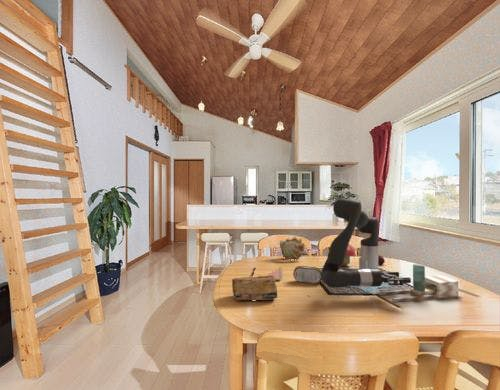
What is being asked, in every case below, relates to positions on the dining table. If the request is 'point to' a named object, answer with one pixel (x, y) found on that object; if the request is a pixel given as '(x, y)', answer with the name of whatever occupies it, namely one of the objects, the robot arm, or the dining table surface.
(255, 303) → the dining table surface
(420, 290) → the block with teal grip
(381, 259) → the potato
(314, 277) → the tin
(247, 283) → the petrified wood
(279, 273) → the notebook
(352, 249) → the decorative mushroom
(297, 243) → the olive rough rounded lump
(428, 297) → the tunnel track
